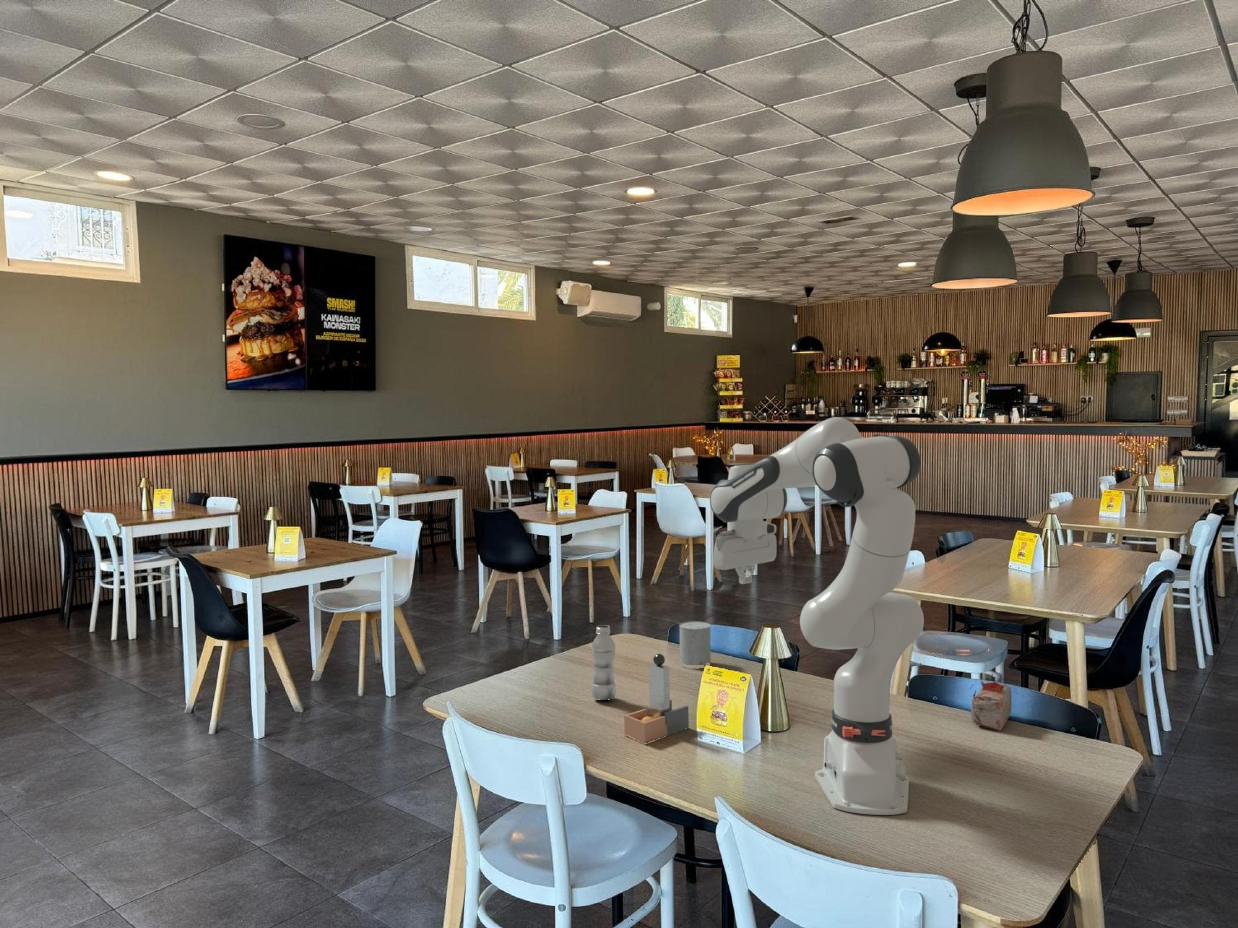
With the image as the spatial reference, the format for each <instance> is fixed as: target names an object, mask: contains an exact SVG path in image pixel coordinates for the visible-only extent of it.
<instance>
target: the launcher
mask: <svg viewBox="0 0 1238 928" xmlns="http://www.w3.org/2000/svg"><path fill="white" fill-rule="evenodd" d="M672 701H673V700H672V699H670V708H669V711H668V712H665V713H664V716H665V724H667V735H669V734H671V735H673V734H672V733H674V734H676V733H675V732H677V733H679V732H678V731H680V730H683V729H685V728H688V727H689V726H690V725H689V724H690V723H689V715H690V714H689V705H683V706H680V707H677V708H674V709H673V702H672ZM646 715H648V706H647V707H646ZM688 729H689V728H688ZM685 730H686V729H685ZM683 731H684V730H683ZM680 732H681V731H680ZM669 736H670V735H669Z"/></svg>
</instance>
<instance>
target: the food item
mask: <svg viewBox="0 0 1238 928" xmlns="http://www.w3.org/2000/svg"><path fill="white" fill-rule="evenodd" d="M980 684H981V686H982V688H981V689H980V690H979V691H978V693H977V690H975V691H974V693H973V694H972V699H971V701H970V705H971V708H970V714H971V721H972V723H973V724H975V725H976V726H978V727H979V726H980V727H982V728H985V729H988V728H989V730H993V731H999V732H1001V731H1002V730H1003V728H1004V727H1005V726H1006V723H1007V721H1008V720H1009V717H1010V715H1011V713H1012V705H1013V704H1012V698H1013V697H1012V690H1011V688H1012V687H1011V686H1009V685H1007V684H1004V683H1001V682H998V681H987V682H984V681H982V680H981V682H980Z"/></svg>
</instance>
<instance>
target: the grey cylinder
mask: <svg viewBox="0 0 1238 928" xmlns="http://www.w3.org/2000/svg"><path fill="white" fill-rule="evenodd" d="M680 662H681V663H684V664H686V665H704V667H705V666H706V663H710V662H711V624H710V623H708V622H705V621H695V620H694V621H693V620H692V621H690V620H689V621H684V622H681V623H679V663H680Z"/></svg>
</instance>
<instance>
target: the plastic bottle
mask: <svg viewBox="0 0 1238 928" xmlns="http://www.w3.org/2000/svg"><path fill="white" fill-rule="evenodd" d="M595 627H596V628H595V629H596V630H595V634H596V637H595V638H594V639H593V641H592V643H591V653H592V661H593V679H592V680H593V682H592V686H591V694H592V697H593V699H594V698H596V699H600V700H608V699H612V698H615V697H616V693H617V687H616V682H615V673H614V672H615V671H614V666H615V653H616V643H615V641H614V639H613V638H612V637H611V636H610V634H611V627H610V625H606V624H599V625H597V626H595ZM612 700H613V699H612Z"/></svg>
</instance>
